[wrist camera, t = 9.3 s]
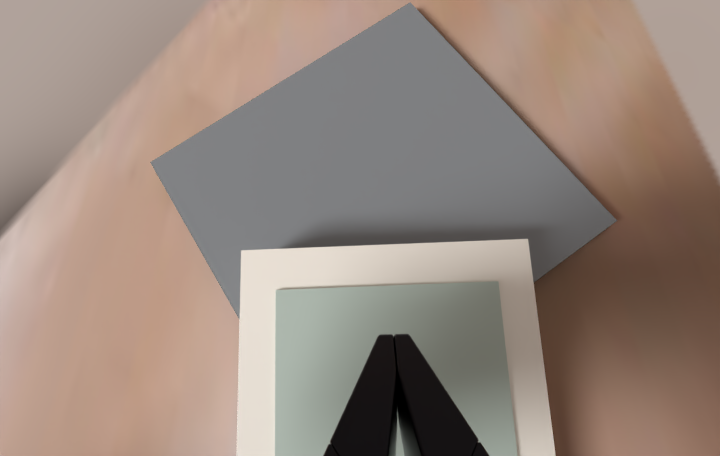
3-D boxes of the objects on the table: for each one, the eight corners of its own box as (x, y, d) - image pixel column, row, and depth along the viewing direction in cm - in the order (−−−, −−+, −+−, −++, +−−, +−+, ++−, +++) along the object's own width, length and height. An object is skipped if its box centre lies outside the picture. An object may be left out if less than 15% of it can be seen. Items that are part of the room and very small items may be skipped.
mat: (607, 224, 18) (617, 220, 17) (315, 441, 16) (311, 447, 16) (409, 13, 22) (410, 2, 22) (159, 168, 21) (150, 162, 20)
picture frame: (504, 246, 17) (539, 553, 15) (258, 256, 17) (254, 564, 15) (530, 238, 15) (578, 610, 12) (239, 249, 15) (230, 623, 12)
